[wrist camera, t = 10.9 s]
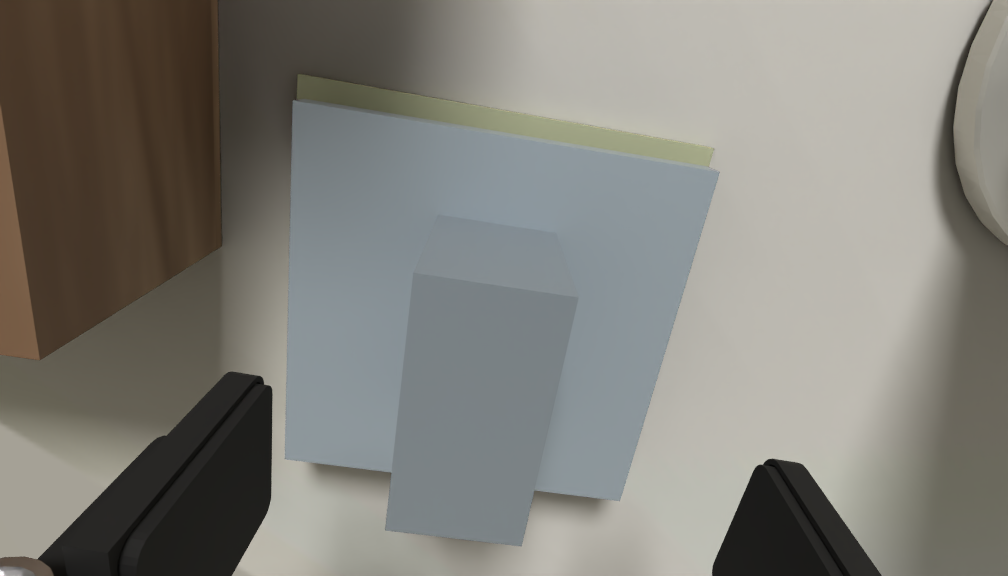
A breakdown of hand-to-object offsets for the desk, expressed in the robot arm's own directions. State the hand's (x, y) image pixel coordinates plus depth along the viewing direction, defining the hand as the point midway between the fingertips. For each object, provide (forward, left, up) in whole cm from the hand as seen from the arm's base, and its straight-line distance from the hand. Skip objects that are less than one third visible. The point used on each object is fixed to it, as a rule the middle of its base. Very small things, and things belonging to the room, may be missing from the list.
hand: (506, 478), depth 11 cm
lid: (+1, 0, -9) cm, 9 cm away
